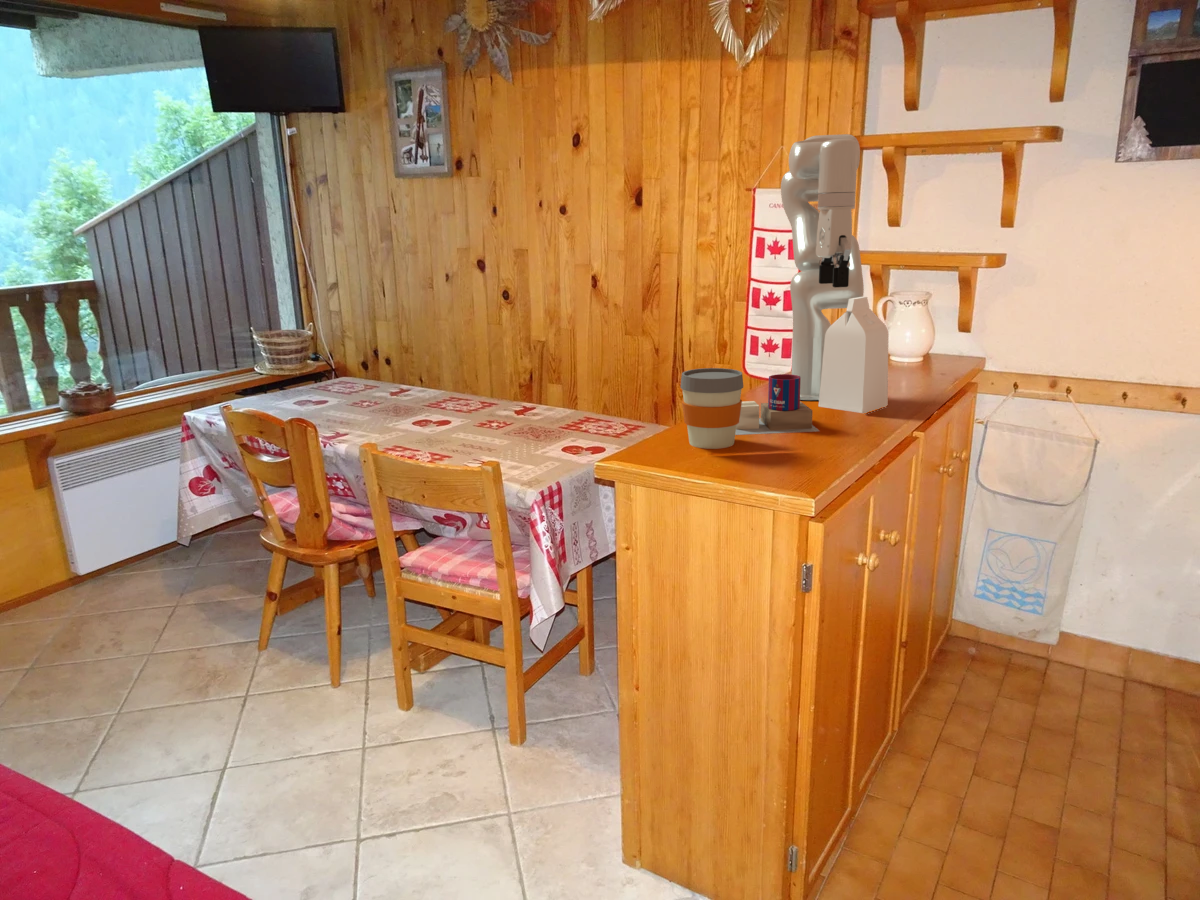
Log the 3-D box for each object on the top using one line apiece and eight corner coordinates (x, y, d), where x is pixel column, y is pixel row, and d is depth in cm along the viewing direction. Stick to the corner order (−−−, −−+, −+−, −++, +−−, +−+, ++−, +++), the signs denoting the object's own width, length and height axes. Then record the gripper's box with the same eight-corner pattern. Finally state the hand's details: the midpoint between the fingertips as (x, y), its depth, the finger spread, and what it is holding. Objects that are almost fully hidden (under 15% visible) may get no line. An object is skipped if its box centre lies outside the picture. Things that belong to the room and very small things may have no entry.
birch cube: (731, 424, 188) (731, 402, 187) (753, 423, 188) (754, 401, 187) (736, 429, 183) (736, 406, 182) (759, 428, 183) (759, 405, 182)
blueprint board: (723, 422, 192) (723, 419, 192) (801, 418, 193) (801, 416, 193) (735, 437, 179) (735, 434, 179) (819, 433, 180) (819, 431, 179)
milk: (844, 400, 210) (849, 294, 203) (887, 406, 202) (894, 296, 195) (818, 408, 202) (822, 299, 195) (862, 415, 194) (867, 301, 187)
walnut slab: (760, 420, 190) (760, 403, 189) (800, 418, 190) (800, 401, 189) (770, 430, 181) (770, 412, 180) (811, 428, 182) (812, 410, 181)
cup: (762, 408, 184) (762, 377, 182) (785, 400, 191) (786, 370, 189) (790, 412, 179) (790, 380, 178) (812, 404, 187) (813, 373, 185)
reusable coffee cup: (729, 456, 165) (730, 380, 161) (670, 450, 171) (670, 376, 167) (751, 441, 176) (752, 369, 172) (695, 435, 182) (695, 366, 178)
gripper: (807, 203, 185) (804, 282, 190) (831, 202, 168) (828, 289, 173) (841, 202, 185) (837, 281, 190) (868, 201, 169) (864, 288, 173)
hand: (833, 285), depth 181 cm, fingers open, 9 cm apart
